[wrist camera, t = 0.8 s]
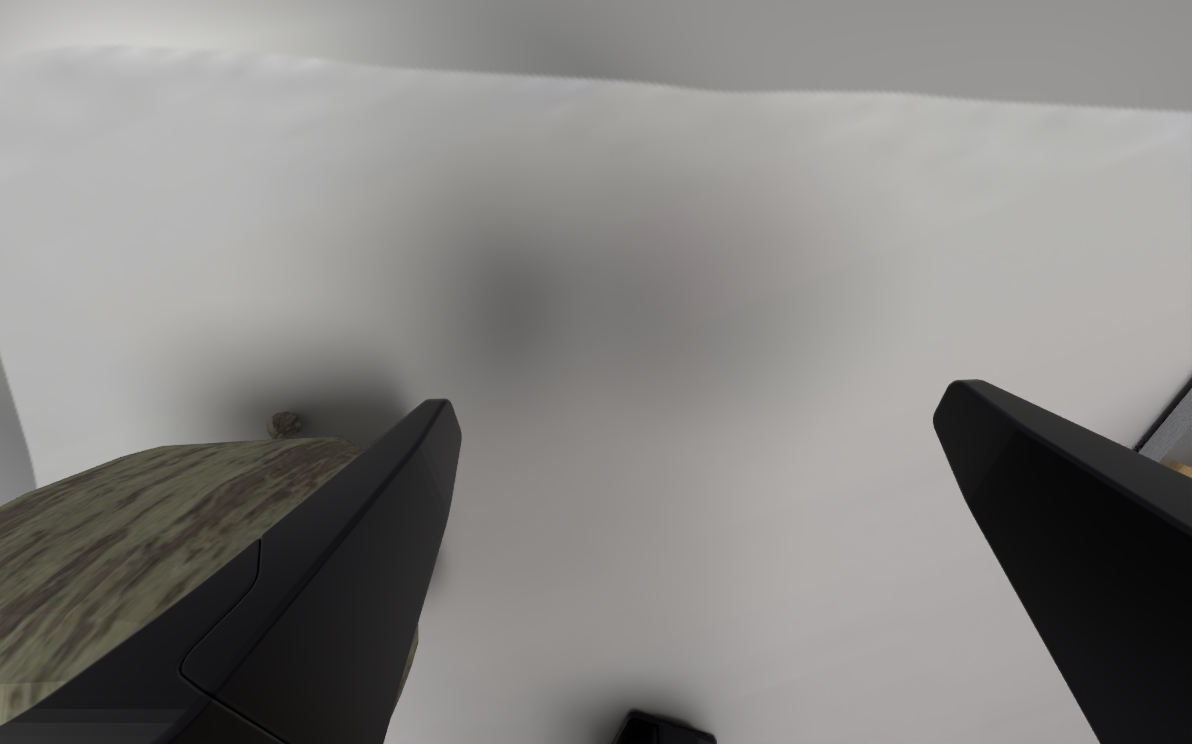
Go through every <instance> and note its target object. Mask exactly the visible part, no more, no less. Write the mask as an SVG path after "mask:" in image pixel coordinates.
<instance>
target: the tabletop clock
mask: <svg viewBox="0 0 1192 744" xmlns="http://www.w3.org/2000/svg"><path fill="white" fill-rule="evenodd" d="M301 424H302V422H301V420H300V419H299V418H298V416H297V415H295V414H292V413H290V412H282V413H277V414H275V415H274V416H273V417H272V418H271V419H270V420H269V421H268V426H267V432H268V433H269V434H270V436H271V437H272V438H273V439H276V440H262V441H244V442H226V443H208V444H191V445H173V446H161V447H157V448H153V449H149V450H145V451H141V452H137V453H134V454H130V455H127V456H123V457H120V458H117V459H115V460H112V461H110V462H107V463H104V464H102V465H99V466H96V467H94V468H91V469H89V470H86V471H83V472H81V473H78V474H76V475H73V476H70V477H68V478H65V479H63V480H60V481H57V482H55V483H52V484H49V485H47V486H44V487H42V488H39V489H36V490H34V491H31V492H29V493H26V494H24V495H22V496H20V497H18V498H16V499H15V500H12V501H10V502H8V503H7V504H5V505H3V506H1V507H0V725H2V724H4V723H6V722H8V721H9V720H11V719H12V718H14V717H16V716H17V715H19V714H21V713H22V712H24V711H26V710H27V709H29V708H30V707H32V706H33V705H35V704H36V703H38V702H39V701H41V700H42V699H43V698H45V697H46V696H48V695H49V694H51V693H52V692H53V691H55V690H56V689H58V688H59V687H60V686H62V685H63V684H64V683H66V682H67V681H69V680H70V679H71V678H73V677H74V676H75V675H77V674H78V673H80V672H81V671H82V670H84V669H85V668H86V667H88V666H89V665H91V664H92V663H93V662H95V661H96V660H97V659H99V658H100V657H102V656H103V655H104V654H106V653H107V652H108V651H110V650H111V649H113V648H114V647H115V646H117V645H118V644H119V643H121V642H122V641H124V640H125V639H126V638H128V637H129V636H130V635H132V634H133V633H135V632H136V631H137V630H139V629H140V628H141V627H143V626H144V625H146V624H147V623H148V622H150V621H151V620H152V619H154V618H155V617H157V616H158V615H159V614H161V613H162V612H163V611H165V610H166V609H167V608H169V607H170V606H171V605H173V604H174V603H175V602H177V601H178V600H179V599H181V598H182V597H183V596H185V595H186V594H187V593H189V592H190V591H191V590H193V589H194V588H195V587H197V586H198V585H199V584H201V583H202V582H203V581H204V580H206V579H207V578H208V577H209V576H211V575H212V574H213V573H214V572H216V571H217V570H218V569H220V568H221V567H222V566H223V565H225V564H226V563H227V562H228V561H230V560H231V559H232V558H233V557H235V556H236V555H237V554H238V553H239V552H241V551H242V550H243V549H244V548H246V547H247V546H248V545H249V544H250V543H252V542H253V541H254V540H255V539H257V538H261V535H262V534H263V533H264V532H265V531H267V530H268V529H269V528H270V527H271V526H273V525H274V524H275V523H276V522H277V521H279V520H280V519H281V518H282V517H284V516H285V515H286V514H287V513H288V512H290V511H291V510H292V509H293V508H295V507H296V506H297V505H298V504H299V503H301V502H302V501H303V500H304V499H306V498H307V497H308V496H309V495H310V494H312V493H313V492H314V491H315V490H317V489H318V488H319V487H320V486H321V485H323V484H324V483H325V482H326V481H327V480H329V479H330V478H331V477H332V476H334V475H335V474H336V473H337V472H338V471H340V470H341V469H342V468H343V467H345V466H346V465H347V464H348V463H349V462H351V461H352V460H353V459H354V458H356V457H357V456H358V455H359V454H360V453H362V452H363V451H364V450H362V449H360V448H359V447H357V446H355V445H354V444H352V443H350V442H349V441H347V440H345V439H344V438H342V437H341V436H334V437H315V438H297V439H294V438H295V437H296V436H297V435H298V434H299V433H300V432H301ZM417 645H418V625H417V628H416V632H415V635H414V639H413V642H412V646H411V649H410V653H409V656H408V659H407V663H406V666H405V670H404V673H403V677H402V680H401V684H400V687H399V691H398V694H397V698H396V701H395V705H394V708H393V712H394V709H395V707H396V705H397V702H398V700H399V698H400V695H401V693H402V690H403V688H404V685H405V682H406V680H407V677H408V674H409V671H410V669H411V666H412V663H413V659H414V655H415V652H416V648H417ZM393 712H392V714H393ZM391 716H392V715H391Z"/></svg>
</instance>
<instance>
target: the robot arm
mask: <svg viewBox="0 0 1192 744" xmlns="http://www.w3.org/2000/svg"><path fill="white" fill-rule="evenodd" d="M933 425H934V428H935V431H936V433H937V436H938V438H939V440H940V443H941V445H942V448H943V450H944V452H945V455H946V457H947V459H948V462H949V464H950V467H951V469H952V471H953V474H954V476H955V478H956V481H957V483H958V486H959V488H960V490H961V492H962V495H963V497H964V499H965V501H966V503H967V505H968V507H969V509H970V511H971V513H972V515H973V517H974V518H975V520H976V522H977V524H978V526H979V527H980V529H981V531H982V533H983V534H984V536H985V538H986V540H987V542H988V543H989V545H990V547H991V549H992V551H993V552H994V554H995V556H996V558H997V560H998V561H999V563H1000V565H1001V567H1002V569H1003V570H1004V572H1005V574H1006V576H1007V577H1008V579H1009V581H1010V583H1011V585H1012V586H1013V588H1014V590H1015V592H1016V594H1017V595H1018V597H1019V599H1020V601H1021V603H1022V604H1023V606H1024V608H1025V610H1026V612H1027V613H1028V615H1029V617H1030V619H1031V620H1032V622H1033V624H1034V626H1035V628H1036V629H1037V631H1038V633H1039V635H1040V637H1041V638H1042V640H1043V642H1044V644H1045V646H1046V647H1047V649H1048V651H1049V653H1050V655H1051V656H1052V658H1053V660H1054V662H1055V663H1056V665H1057V667H1058V669H1059V671H1060V672H1061V674H1062V676H1063V678H1064V680H1065V681H1066V683H1067V685H1068V687H1069V689H1070V690H1071V692H1072V694H1073V696H1074V697H1075V699H1076V701H1077V703H1078V705H1079V706H1080V708H1081V710H1082V712H1083V714H1084V715H1085V717H1086V719H1087V721H1088V723H1089V724H1090V726H1091V728H1092V730H1093V732H1094V733H1095V735H1096V737H1097V739H1098V740H1099V742H1100V744H1192V478H1191V477H1189V476H1187V475H1185V474H1182V473H1180V472H1178V471H1176V470H1174V469H1172V468H1170V467H1167V466H1165V465H1163V464H1161V463H1159V462H1157V461H1155V460H1152V459H1150V458H1148V457H1146V456H1144V455H1142V454H1140V453H1137V452H1135V451H1133V450H1131V449H1129V448H1127V447H1125V446H1122V445H1120V444H1118V443H1116V442H1114V441H1112V440H1110V439H1107V438H1105V437H1103V436H1101V435H1099V434H1097V433H1095V432H1092V431H1090V430H1088V429H1086V428H1084V427H1082V426H1080V425H1078V424H1075V423H1073V422H1071V421H1069V420H1067V419H1065V418H1063V417H1060V416H1058V415H1056V414H1054V413H1052V412H1050V411H1048V410H1045V409H1043V408H1041V407H1039V406H1037V405H1035V404H1033V403H1030V402H1028V401H1026V400H1024V399H1022V398H1020V397H1018V396H1015V395H1013V394H1011V393H1009V392H1007V391H1005V390H1003V389H1000V388H998V387H996V386H994V385H992V384H990V383H988V382H985V381H983V380H978V379H972V380H956V381H953V382H952V383H951V384H949V386H948V387H947V389H946V391H945V393H944V395H943V397H942V399H941V401H940V403H939V405H938V407H937V409H936V411H935V413H934V416H933ZM460 446H461V430H460V426H459V423H458V421H457V418H456V415H455V412H454V409H453V406H452V404H451V402H450V401H449V400H448V399H428V400H425V401H424V402H423V403H421V404H420V405H419V406H418V407H416V408H415V409H414V410H413V411H412V412H410V413H409V414H408V415H407V416H405V417H404V418H403V419H402V420H401V421H399V422H398V423H397V424H396V425H395V426H393V427H392V428H391V429H390V430H388V431H387V432H386V433H385V434H384V435H382V436H381V437H380V438H379V439H377V440H376V441H375V442H374V443H373V444H371V445H370V446H369V447H368V448H366V449H365V450H364V451H363V452H362V453H360V454H359V455H358V456H357V457H356V458H354V459H353V460H352V461H351V462H349V463H348V464H347V465H346V466H345V467H343V468H342V469H341V470H340V471H338V472H337V473H336V474H335V475H334V476H332V477H331V478H330V479H329V480H327V481H326V482H325V483H324V484H323V485H321V486H320V487H319V488H318V489H317V490H315V491H314V492H313V493H312V494H310V495H309V496H308V497H307V498H306V499H304V500H303V501H302V502H301V503H299V504H298V505H297V506H296V507H295V508H293V509H292V510H291V511H290V512H288V513H287V514H286V515H285V516H284V517H282V518H281V519H280V520H279V521H277V522H276V523H275V524H274V525H273V526H271V527H270V528H269V529H268V530H267V531H265V532H264V533H263V534H262V535H261V538H257V539H255V540H254V541H253V542H252V543H250V544H249V545H248V546H247V547H246V548H244V549H243V550H242V551H241V552H239V553H238V554H237V555H236V556H235V557H233V558H232V559H231V560H230V561H228V562H227V563H226V564H225V565H223V566H222V567H221V568H220V569H218V570H217V571H216V572H214V573H213V574H212V575H211V576H209V577H208V578H207V579H206V580H204V581H203V582H202V583H201V584H199V585H198V586H197V587H195V588H194V589H193V590H191V591H190V592H189V593H187V594H186V595H185V596H183V597H182V598H181V599H179V600H178V601H177V602H175V603H174V604H173V605H171V606H170V607H169V608H167V609H166V610H165V611H163V612H162V613H161V614H159V615H158V616H157V617H155V618H154V619H152V620H151V621H150V622H148V623H147V624H146V625H144V626H143V627H141V628H140V629H139V630H137V631H136V632H135V633H133V634H132V635H130V636H129V637H128V638H126V639H125V640H124V641H122V642H121V643H119V644H118V645H117V646H115V647H114V648H113V649H111V650H110V651H108V652H107V653H106V654H104V655H103V656H102V657H100V658H99V659H97V660H96V661H95V662H93V663H92V664H91V665H89V666H88V667H86V668H85V669H84V670H82V671H81V672H80V673H78V674H77V675H75V676H74V677H73V678H71V679H70V680H69V681H67V682H66V683H64V684H63V685H62V686H60V687H59V688H58V689H56V690H55V691H53V692H52V693H51V694H49V695H48V696H46V697H45V698H43V699H42V700H41V701H39V702H38V703H36V704H35V705H33V706H32V707H30V708H29V709H27V710H26V711H24V712H22V713H21V714H19V715H17V716H16V717H14V718H12V719H11V720H9V721H8V722H6V723H4V724H2V725H0V744H383V743H384V739H385V736H386V732H387V729H388V725H389V722H390V719H391V715H392V712H393V708H394V705H395V701H396V698H397V694H398V691H399V687H400V684H401V680H402V677H403V673H404V670H405V666H406V663H407V659H408V656H409V653H410V649H411V646H412V642H413V639H414V635H415V632H416V628H417V625H418V621H419V618H420V614H421V611H422V607H423V604H424V600H425V597H426V593H427V590H428V586H429V583H430V580H431V576H432V573H433V569H434V566H435V562H436V559H437V555H438V552H439V548H440V545H441V541H442V538H443V534H444V531H445V527H446V524H447V520H448V516H449V511H450V506H451V501H452V495H453V489H454V483H455V477H456V470H457V464H458V458H459V452H460ZM612 744H717V741H716V739H715V738H713V737H711V736H708V735H705V734H702V733H699V732H696V731H693V730H690V729H687V728H684V727H681V726H678V725H675V724H672V723H669V722H666V721H663V720H660V719H657V718H654V717H651V716H648V715H645V714H642V713H639V712H631V713H629V715H628V716H627V718H626V720H625V721H624V723H623V725H622V727H621V729H620V730H619V732H618V734H617V736H616V738H615V739H614V741H613V743H612Z"/></svg>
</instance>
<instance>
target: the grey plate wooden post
mask: <svg viewBox="0 0 1192 744" xmlns="http://www.w3.org/2000/svg"><path fill="white" fill-rule="evenodd" d="M1138 453H1140V454H1142V455H1144V456H1146V457H1148V458H1150V459H1152V460H1155V461H1157V462H1159V463H1161V464H1163V465H1165V466H1167V467H1170V468H1172V469H1174V470H1176V471H1178V472H1180V473H1182V474H1185V475H1187V476H1189V477H1191V478H1192V388H1191V390H1190V391H1189V392H1188V393H1187V395H1186V396H1185V397H1184V398H1183V399H1182V401H1181V402H1180V403H1179V404H1178V405H1177V407H1176V408H1175V409H1174V410H1173V411H1172V413H1171V414H1170V415H1169V416H1168V417H1167V419H1166V420H1165V421H1164V422H1163V423H1162V425H1161V426H1160V427H1159V428H1158V430H1157V431H1156V432H1155V433H1154V434H1153V436H1152V437H1151V438H1150V439H1149V440H1148V442H1147V443H1146V444H1145V445H1144V446H1143V448H1142V449H1141V450H1140V451H1139V452H1138Z"/></svg>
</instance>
